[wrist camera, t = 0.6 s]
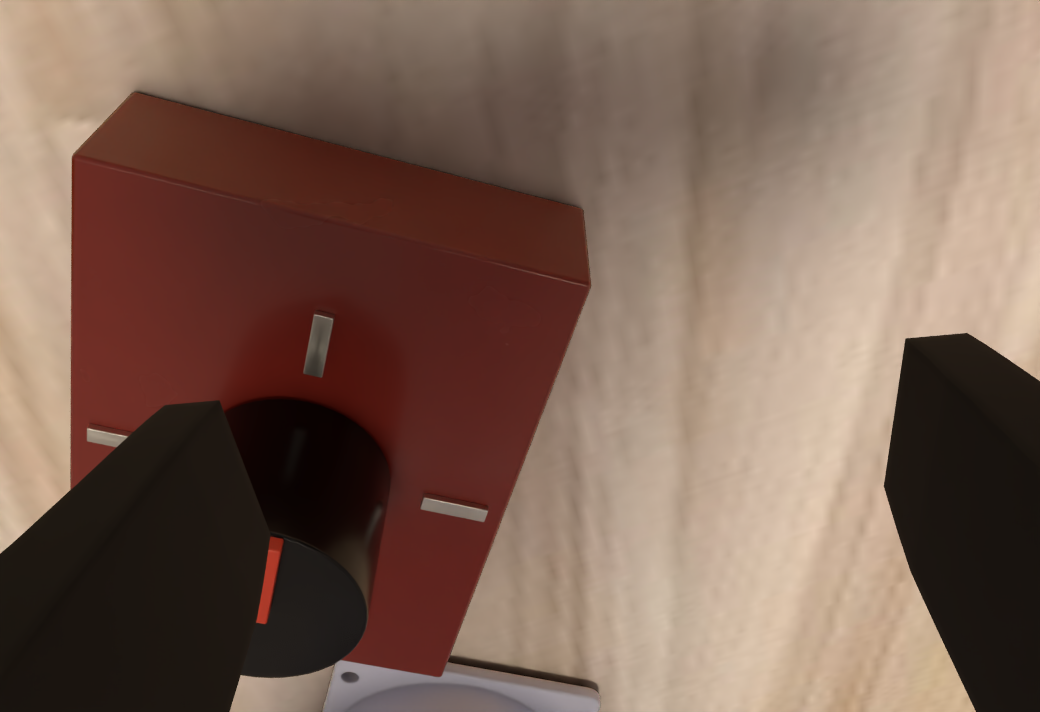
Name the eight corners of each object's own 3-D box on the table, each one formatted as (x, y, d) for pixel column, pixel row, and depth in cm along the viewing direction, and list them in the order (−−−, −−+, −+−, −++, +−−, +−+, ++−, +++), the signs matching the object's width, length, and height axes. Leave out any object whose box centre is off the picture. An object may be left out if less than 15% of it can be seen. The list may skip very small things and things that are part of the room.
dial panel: (449, 585, 26) (441, 685, 23) (113, 521, 25) (65, 619, 22) (584, 207, 19) (593, 289, 17) (132, 89, 18) (65, 158, 15)
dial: (371, 556, 21) (344, 708, 18) (188, 520, 20) (127, 671, 17) (409, 422, 19) (385, 570, 16) (203, 377, 18) (135, 522, 15)
